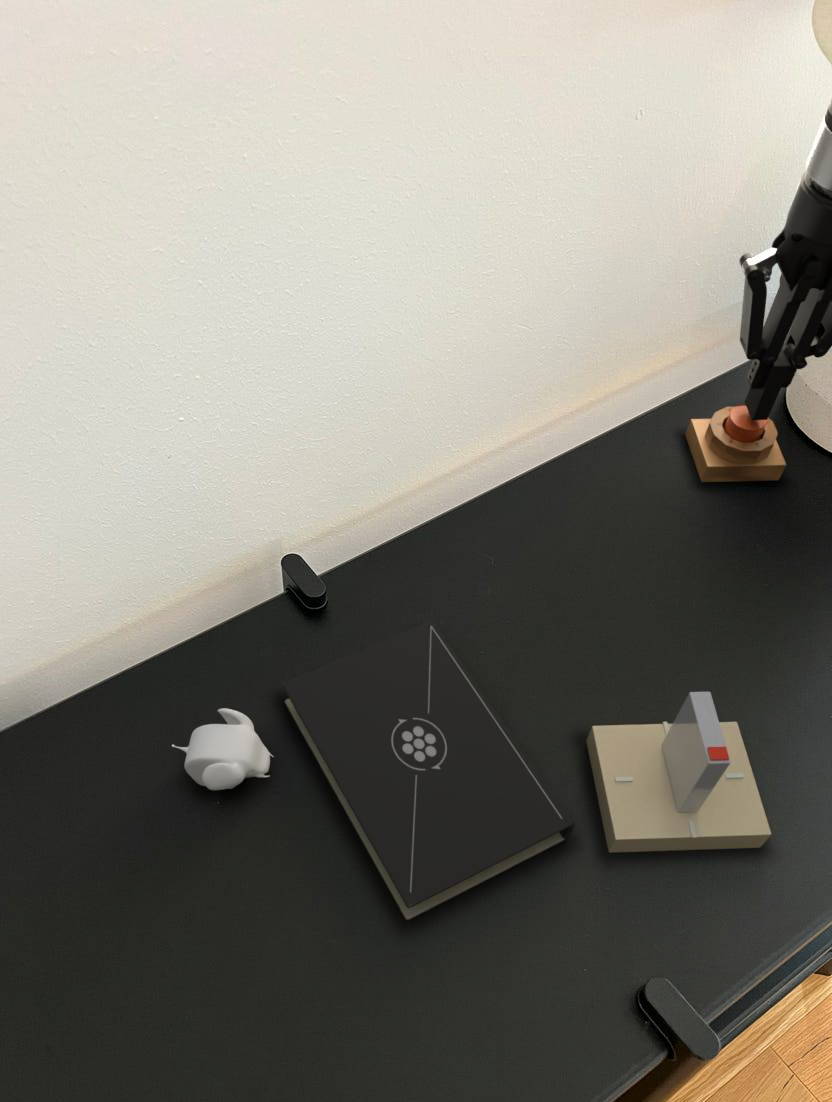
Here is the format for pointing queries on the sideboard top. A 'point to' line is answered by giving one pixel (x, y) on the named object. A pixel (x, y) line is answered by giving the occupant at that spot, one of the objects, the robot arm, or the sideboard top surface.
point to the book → (424, 768)
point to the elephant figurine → (226, 752)
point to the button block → (733, 452)
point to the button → (743, 425)
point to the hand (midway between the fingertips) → (755, 410)
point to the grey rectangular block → (695, 752)
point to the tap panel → (670, 794)
